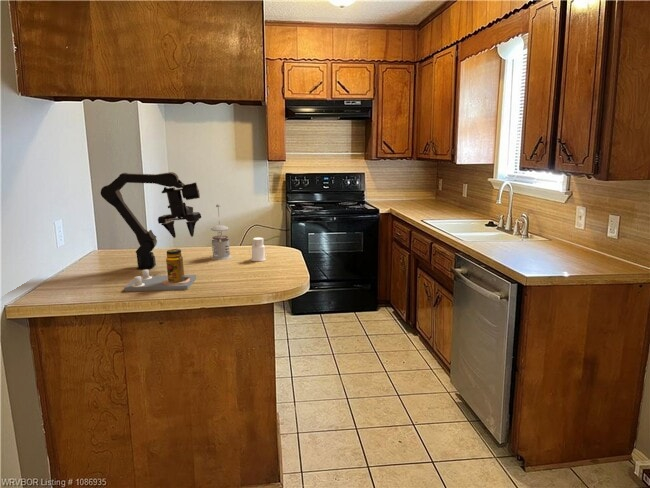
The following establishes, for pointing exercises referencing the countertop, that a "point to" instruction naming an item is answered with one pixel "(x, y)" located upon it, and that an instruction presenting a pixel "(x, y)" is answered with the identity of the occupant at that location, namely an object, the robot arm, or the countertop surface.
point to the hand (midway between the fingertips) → (183, 237)
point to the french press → (220, 243)
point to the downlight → (258, 250)
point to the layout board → (157, 283)
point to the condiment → (175, 267)
